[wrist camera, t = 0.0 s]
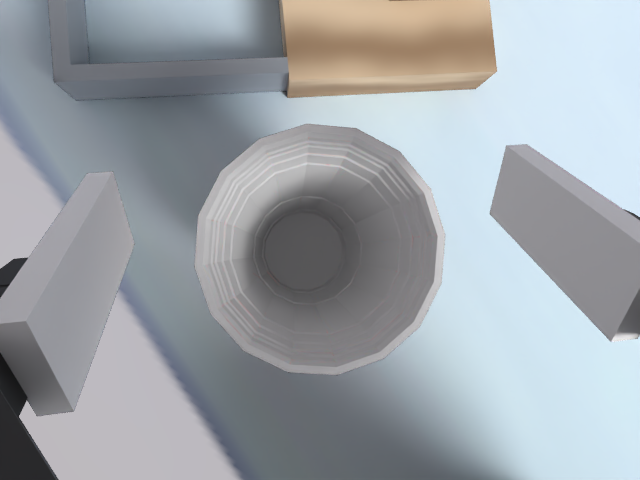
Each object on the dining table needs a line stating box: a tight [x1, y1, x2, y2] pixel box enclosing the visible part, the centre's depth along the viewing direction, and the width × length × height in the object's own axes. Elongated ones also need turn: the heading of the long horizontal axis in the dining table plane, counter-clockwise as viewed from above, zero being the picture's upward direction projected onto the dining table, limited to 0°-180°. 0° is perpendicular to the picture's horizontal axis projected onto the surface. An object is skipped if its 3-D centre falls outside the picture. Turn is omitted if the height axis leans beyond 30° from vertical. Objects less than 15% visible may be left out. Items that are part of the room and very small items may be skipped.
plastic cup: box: [194, 124, 445, 375], centre depth 24 cm, size 11×11×12 cm
